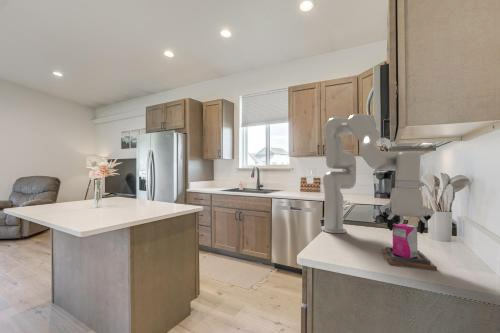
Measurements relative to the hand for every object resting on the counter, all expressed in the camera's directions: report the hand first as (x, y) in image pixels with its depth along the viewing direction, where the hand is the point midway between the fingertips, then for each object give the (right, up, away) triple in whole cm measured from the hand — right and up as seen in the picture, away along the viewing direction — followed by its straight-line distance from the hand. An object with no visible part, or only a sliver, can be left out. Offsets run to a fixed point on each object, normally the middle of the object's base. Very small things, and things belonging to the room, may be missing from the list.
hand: (405, 231), depth 89 cm
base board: (0, -11, -1) cm, 11 cm away
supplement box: (0, -10, 0) cm, 10 cm away
